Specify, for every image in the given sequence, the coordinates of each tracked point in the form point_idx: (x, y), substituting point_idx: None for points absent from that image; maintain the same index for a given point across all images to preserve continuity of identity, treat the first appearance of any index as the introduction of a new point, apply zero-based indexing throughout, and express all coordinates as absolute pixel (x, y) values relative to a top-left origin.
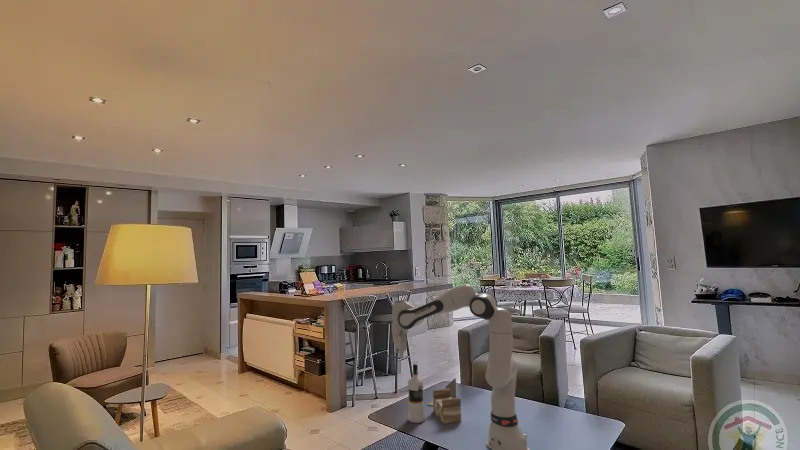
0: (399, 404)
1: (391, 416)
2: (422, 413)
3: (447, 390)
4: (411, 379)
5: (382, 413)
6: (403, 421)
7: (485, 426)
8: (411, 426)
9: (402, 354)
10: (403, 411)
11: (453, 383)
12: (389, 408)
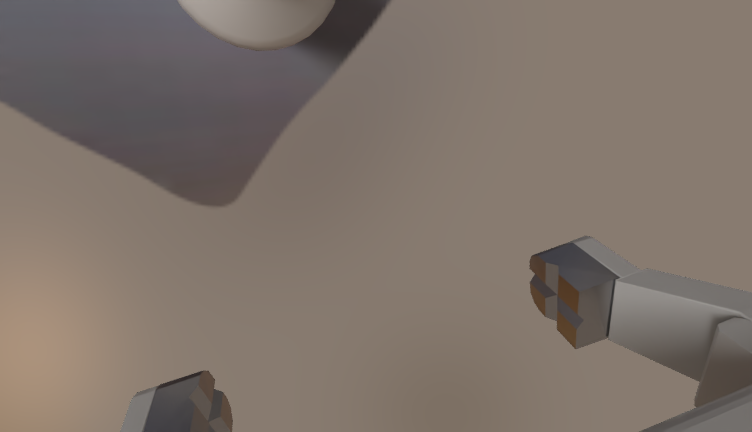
0: (16, 91)
1: (228, 128)
2: None
3: None
4: (294, 9)
5: (195, 178)
6: (287, 57)
7: None
8: (348, 9)
9: (644, 282)
10: (138, 60)
11: None
12: (111, 149)
